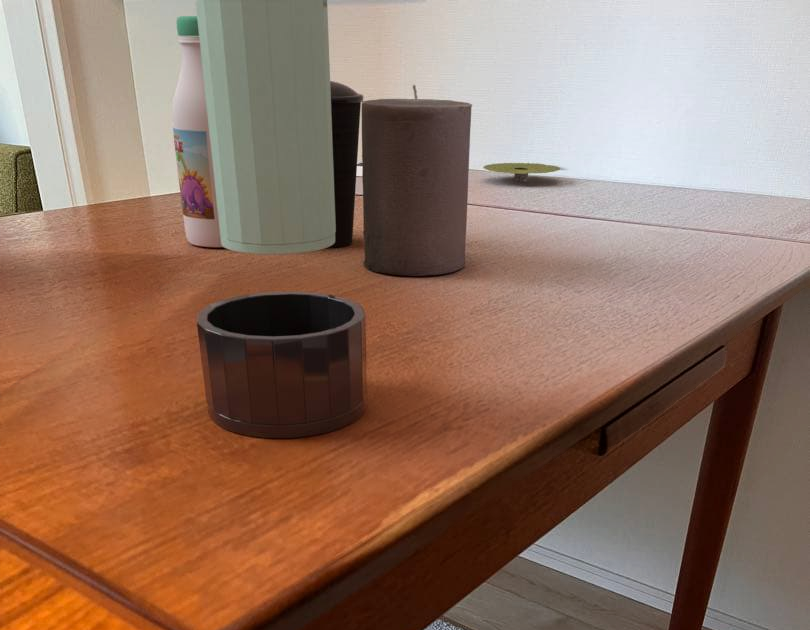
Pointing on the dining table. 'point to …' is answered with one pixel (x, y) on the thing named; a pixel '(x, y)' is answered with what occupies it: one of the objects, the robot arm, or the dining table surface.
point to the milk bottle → (194, 142)
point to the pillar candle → (415, 185)
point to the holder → (284, 363)
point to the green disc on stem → (521, 169)
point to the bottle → (269, 123)
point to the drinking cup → (344, 157)
